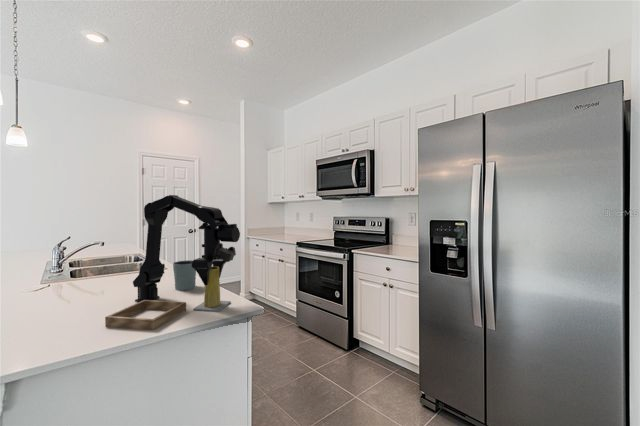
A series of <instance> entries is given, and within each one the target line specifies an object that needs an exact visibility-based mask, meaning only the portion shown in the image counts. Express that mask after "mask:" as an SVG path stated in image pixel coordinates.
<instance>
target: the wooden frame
mask: <svg viewBox="0 0 640 426" xmlns="http://www.w3.org/2000/svg"><path fill="white" fill-rule="evenodd" d="M143 310H157V311H158V310H160V311H164V312H163V313H161V314H159V315H157V316H155V317H154V318H143V317H130V316H133V315H135V314H137V313H138V312H141V311H143ZM186 311H187V302H185V301H170V300H167V301H166V300H157V299H155V300H143V301H140V302H136V303H134V304H131V305H130V306H127V307H125V308H123V309H121V310H118V311H115V312H113V313H111V314H108V315H107V316H105V320H104V321H105V323H104V324H105V327H108V328H109V327H110V328H111V327H112V328H122V329H123V328H125V329H137V330H138V329H139V330H152V331H154V330H156V329H157V328H159V327H161V326H162V325H164V324H166V323H167V322H169V321H171V320H172V319H174V318H176V317H178V316H180V315H181V314H182V313H184V312H186Z"/></svg>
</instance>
